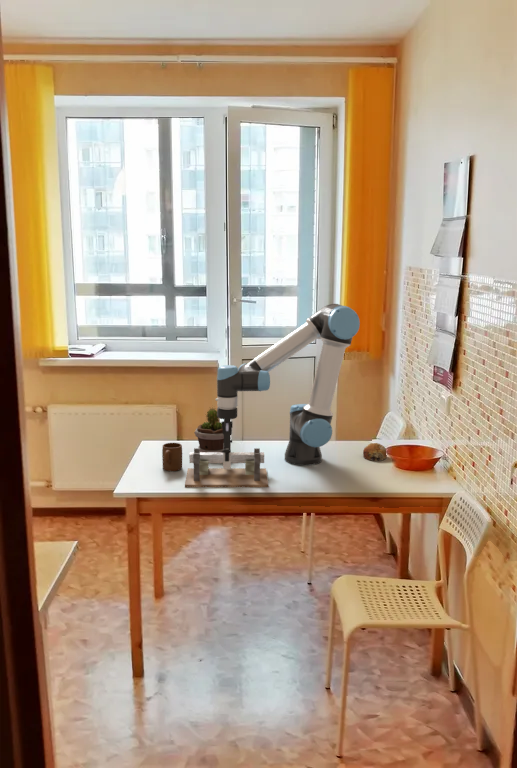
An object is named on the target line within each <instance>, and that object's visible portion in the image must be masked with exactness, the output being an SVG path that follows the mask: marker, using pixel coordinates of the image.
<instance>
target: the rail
mask: <svg viewBox="0 0 517 768" xmlns="http://www.w3.org/2000/svg"><path fill="white" fill-rule="evenodd" d="M193 453H194V451H192V452H191V451H190V452H189V464H193ZM260 454H261V455H260V464H264V463H265V452H261V451H260ZM200 461H208V463H209V464H223V453H222V452H200ZM246 461H254V451H253V452H252V451H251V452H250V451H249V452H248V451H247V452H246V451H245V452H243V451H242V452H241V451H239V452H237V451H236V452H234V451H231V464H245V463H246Z"/></svg>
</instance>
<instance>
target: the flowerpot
mask: <svg viewBox="0 0 517 768" xmlns="http://www.w3.org/2000/svg"><path fill="white" fill-rule="evenodd" d="M204 414H205V413H204ZM205 415H206V416H205V417H206V420H205V421H203V422H202V423H201V424H199V425H198V426H197V427H196V429H195V430H194V436H195V437H197V441H198V446H197V448H200V452H222V451H223V450H224V435H223V428H222V421H221V420H220V418H218V417H217V409H216V408H215V406H213V407H210V408H209V409H208V410H207V411H206V414H205Z"/></svg>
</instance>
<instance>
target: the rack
mask: <svg viewBox="0 0 517 768" xmlns="http://www.w3.org/2000/svg"><path fill="white" fill-rule="evenodd" d="M193 452H194V453H193V463H192V464H193V467H191V468H187V471H186V476H185V481H184V488H269V486H270V485H269V479H268V473H267V468H265V467H264V468H261V463H260V455H261V454H260V452H261V450H260V448H259V447H258V448H257V447H256V448H254V449H253V452H254V461H246V463H244V468H240V467H239V468H236V467H235V468H234V467H233V468H231V469H223V467H222V468H220V467H219V468H218V467H217V468H215V467H214V468H211V467H210V463H208V461H200V448H198V447H197V448H196V447H194V449H193ZM209 467H210V468H209Z"/></svg>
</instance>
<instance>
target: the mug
mask: <svg viewBox="0 0 517 768" xmlns="http://www.w3.org/2000/svg"><path fill="white" fill-rule="evenodd" d="M161 448H162V452H161V453H162V454H161V455H162V469H163V470H164V471H166V472H177V471H180V470H181V469H183V445H182V444H181V443H179V442H167V443H164V444H162V447H161Z"/></svg>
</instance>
